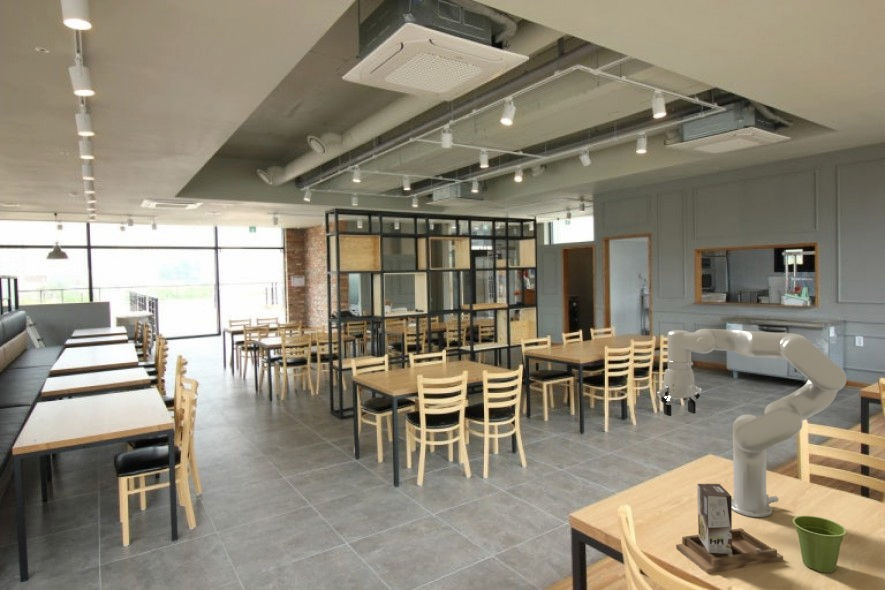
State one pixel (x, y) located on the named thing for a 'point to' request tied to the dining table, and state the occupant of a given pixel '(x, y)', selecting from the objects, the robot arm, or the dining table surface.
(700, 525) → the coffee box
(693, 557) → the divided wooden tray
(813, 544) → the plant pot
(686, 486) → the dining table surface
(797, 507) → the dining table surface
